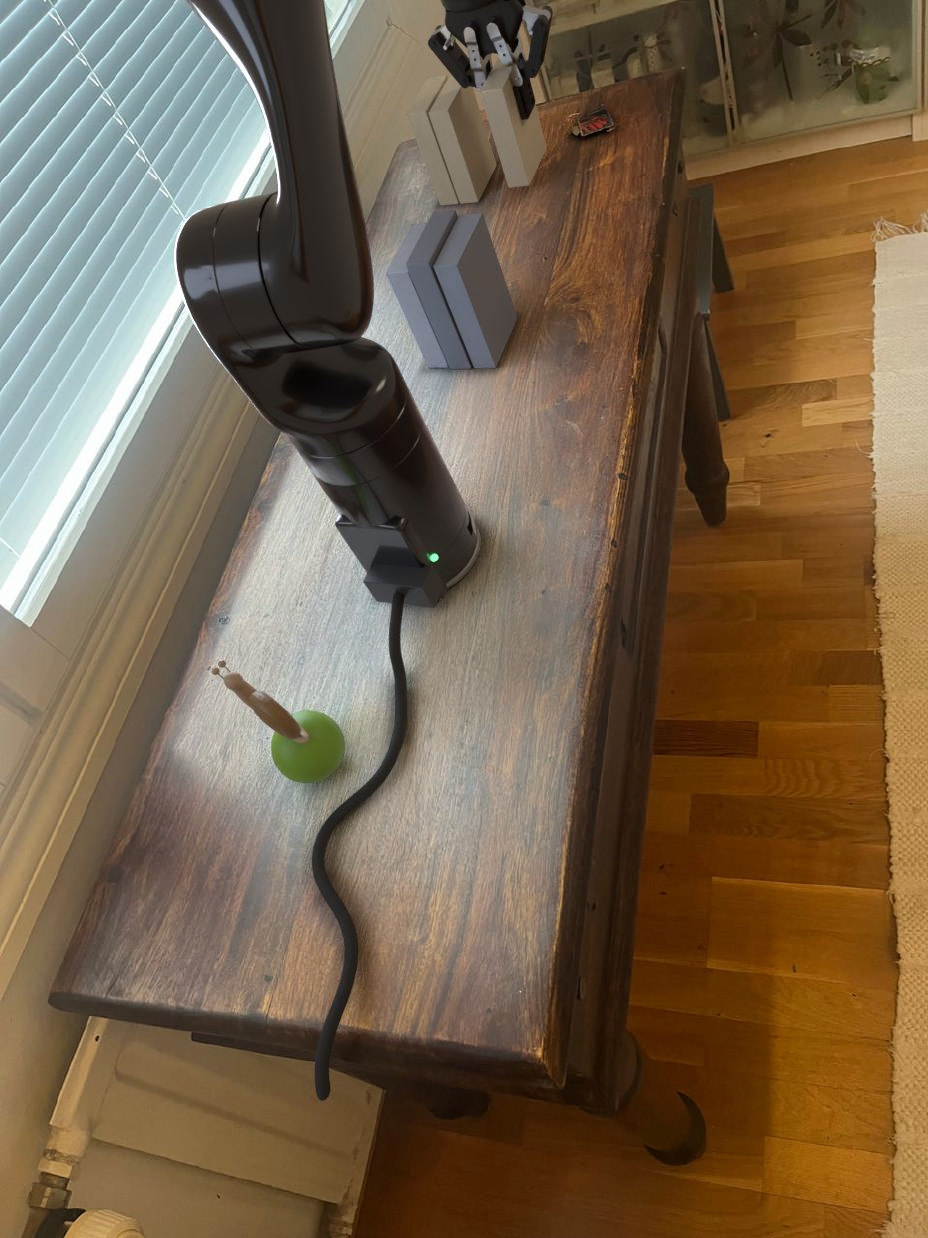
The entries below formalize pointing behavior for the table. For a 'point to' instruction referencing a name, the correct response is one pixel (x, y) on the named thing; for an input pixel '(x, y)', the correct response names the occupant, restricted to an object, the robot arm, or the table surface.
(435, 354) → the grey books
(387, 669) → the table surface
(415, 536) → the robot arm
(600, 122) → the black red flat piece
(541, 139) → the cream book
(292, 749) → the snail figurine
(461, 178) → the cream books
